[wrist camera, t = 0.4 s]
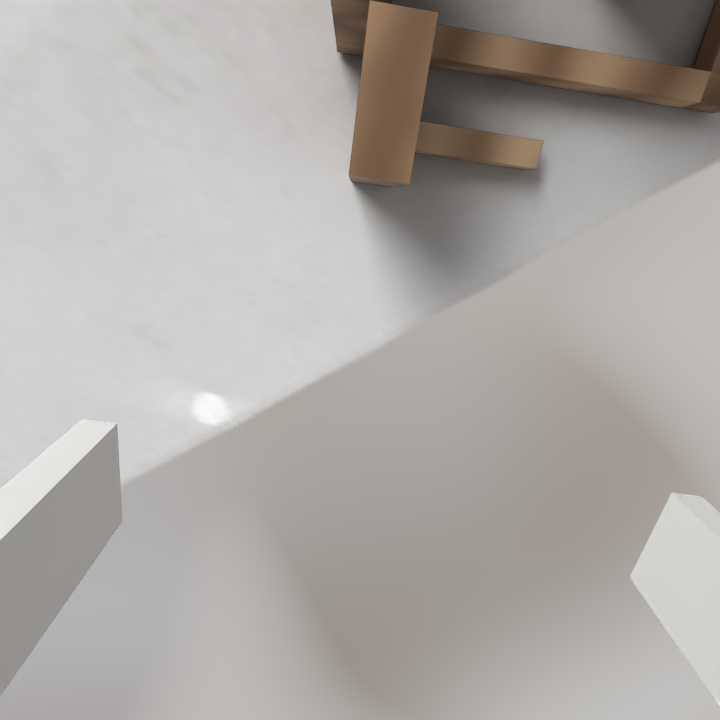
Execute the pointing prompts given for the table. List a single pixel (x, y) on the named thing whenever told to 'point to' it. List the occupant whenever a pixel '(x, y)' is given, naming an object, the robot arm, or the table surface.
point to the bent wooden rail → (558, 62)
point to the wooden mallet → (413, 106)
